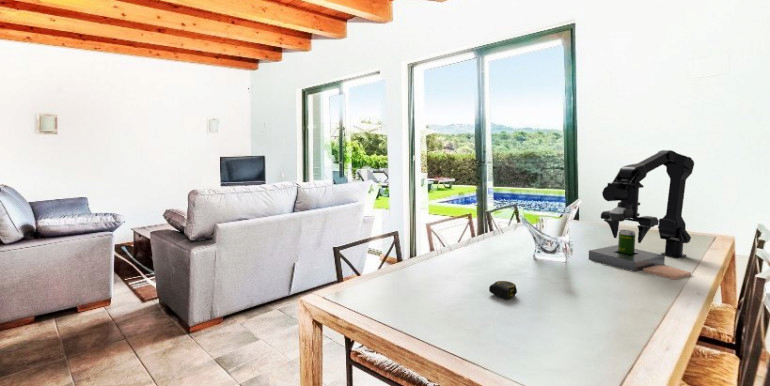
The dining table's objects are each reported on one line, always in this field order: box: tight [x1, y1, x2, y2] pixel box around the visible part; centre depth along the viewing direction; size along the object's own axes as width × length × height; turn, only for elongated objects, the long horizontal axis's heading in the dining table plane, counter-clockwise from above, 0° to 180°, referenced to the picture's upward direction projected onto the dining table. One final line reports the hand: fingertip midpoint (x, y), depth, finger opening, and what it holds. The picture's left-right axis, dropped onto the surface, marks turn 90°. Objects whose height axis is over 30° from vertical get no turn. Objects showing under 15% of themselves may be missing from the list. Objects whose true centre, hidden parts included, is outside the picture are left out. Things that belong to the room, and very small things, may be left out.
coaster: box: [642, 265, 692, 281], centre depth 136 cm, size 10×10×1 cm
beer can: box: [617, 229, 636, 256], centre depth 150 cm, size 5×5×12 cm
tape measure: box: [488, 280, 518, 300], centre depth 117 cm, size 7×7×4 cm
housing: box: [588, 244, 666, 273], centre depth 150 cm, size 18×18×4 cm
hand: (626, 240), depth 149 cm, fingers open, 9 cm apart
